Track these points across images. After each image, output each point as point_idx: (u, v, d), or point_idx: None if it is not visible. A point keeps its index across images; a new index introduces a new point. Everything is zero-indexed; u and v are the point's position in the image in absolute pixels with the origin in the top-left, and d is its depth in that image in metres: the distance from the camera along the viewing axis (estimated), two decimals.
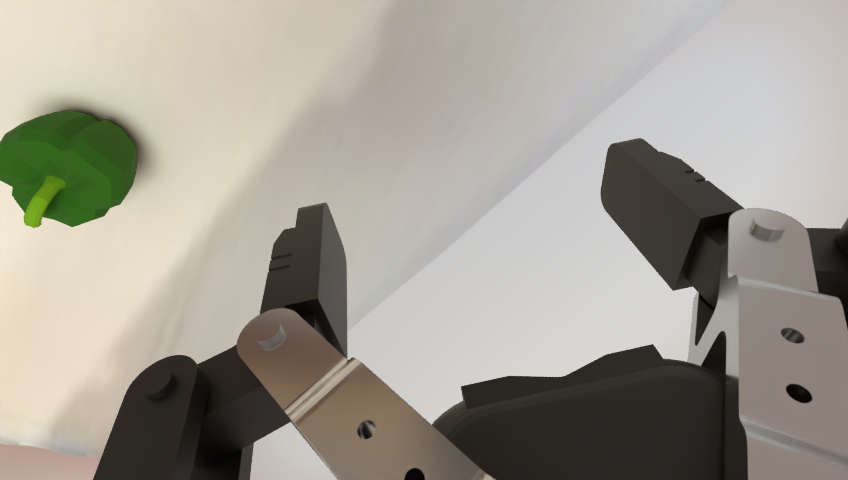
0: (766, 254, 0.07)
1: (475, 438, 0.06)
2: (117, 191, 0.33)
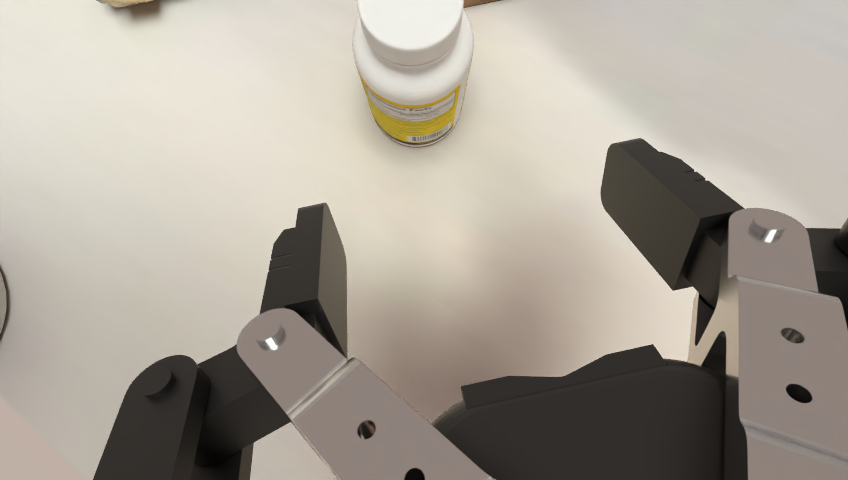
0: (766, 254, 0.07)
1: (475, 438, 0.06)
2: None
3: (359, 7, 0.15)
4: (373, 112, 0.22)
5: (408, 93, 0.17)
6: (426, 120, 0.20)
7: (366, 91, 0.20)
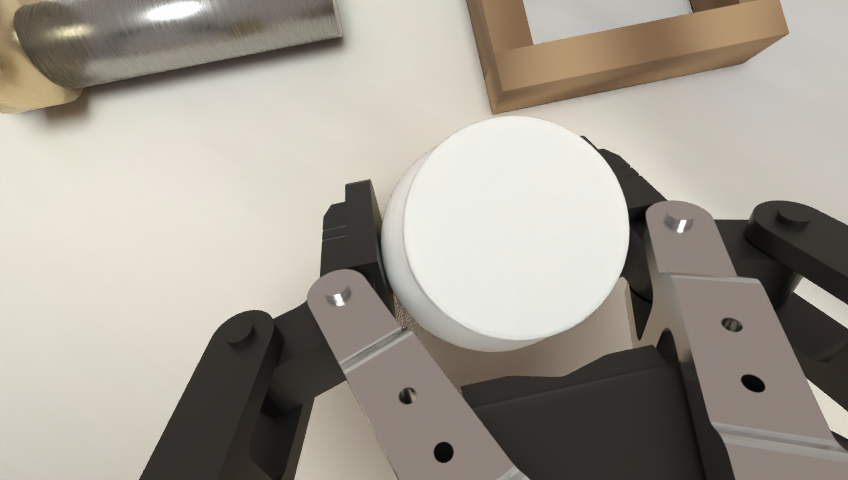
0: (673, 242, 0.08)
1: None
2: None
3: (407, 246, 0.07)
4: None
5: (485, 348, 0.09)
6: None
7: None
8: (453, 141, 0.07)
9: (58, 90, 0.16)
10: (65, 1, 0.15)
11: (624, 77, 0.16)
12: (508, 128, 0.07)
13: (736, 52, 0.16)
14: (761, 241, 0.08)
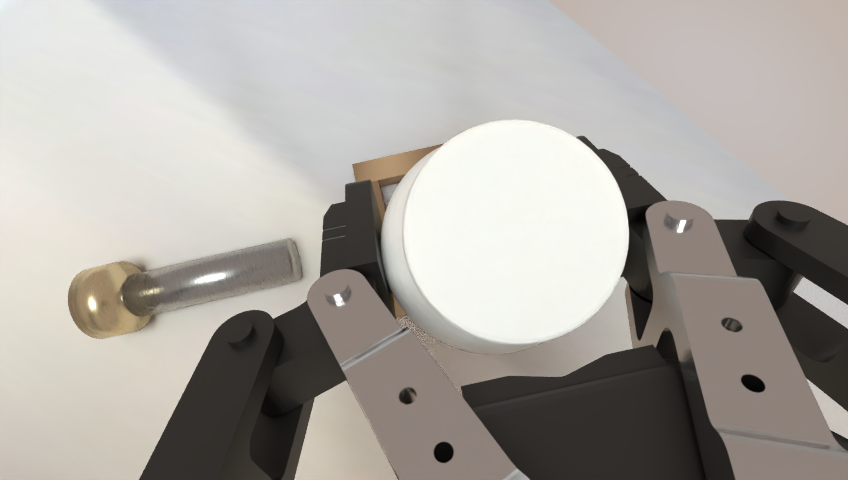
0: (672, 242, 0.08)
1: None
2: None
3: (407, 249, 0.07)
4: None
5: (485, 350, 0.09)
6: None
7: None
8: (453, 144, 0.07)
9: (142, 319, 0.28)
10: (148, 280, 0.27)
11: None
12: (507, 132, 0.07)
13: None
14: (761, 241, 0.08)
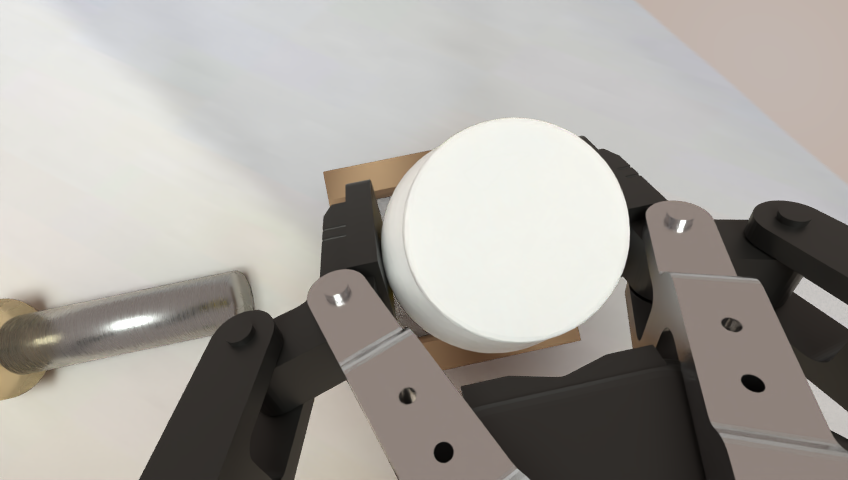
0: (673, 242, 0.08)
1: None
2: None
3: (408, 248, 0.07)
4: None
5: (486, 349, 0.09)
6: None
7: None
8: (453, 143, 0.07)
9: (29, 378, 0.21)
10: (33, 327, 0.19)
11: None
12: (508, 129, 0.07)
13: None
14: (761, 241, 0.08)
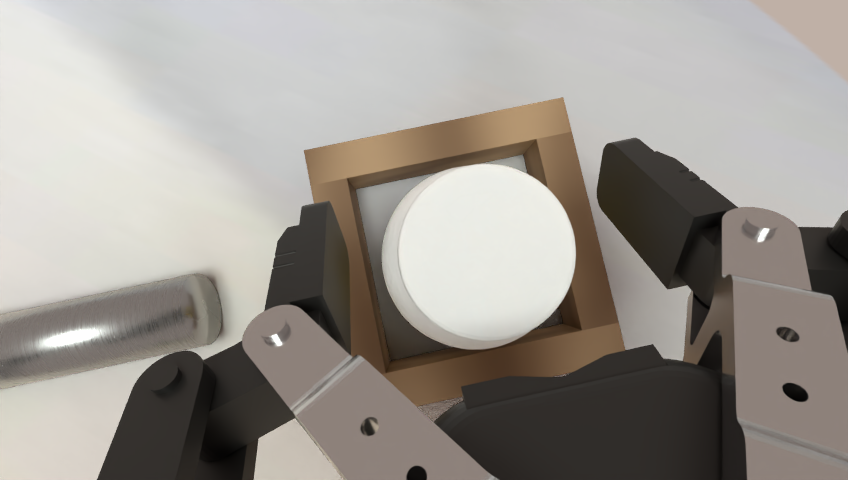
0: (758, 252, 0.07)
1: (475, 438, 0.06)
2: None
3: (401, 267, 0.09)
4: None
5: (467, 346, 0.11)
6: None
7: None
8: (437, 184, 0.09)
9: None
10: None
11: None
12: (481, 173, 0.09)
13: None
14: (844, 246, 0.07)
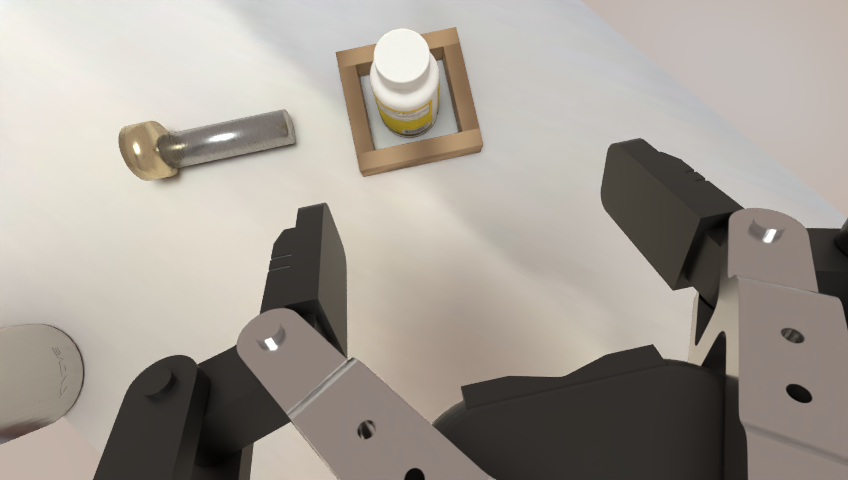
0: (766, 254, 0.07)
1: (475, 438, 0.06)
2: None
3: (374, 59, 0.29)
4: (381, 115, 0.36)
5: (401, 104, 0.31)
6: (413, 120, 0.34)
7: (377, 102, 0.33)
8: (386, 34, 0.29)
9: (171, 170, 0.36)
10: (177, 135, 0.35)
11: (418, 161, 0.37)
12: (400, 31, 0.29)
13: (466, 150, 0.36)
14: None
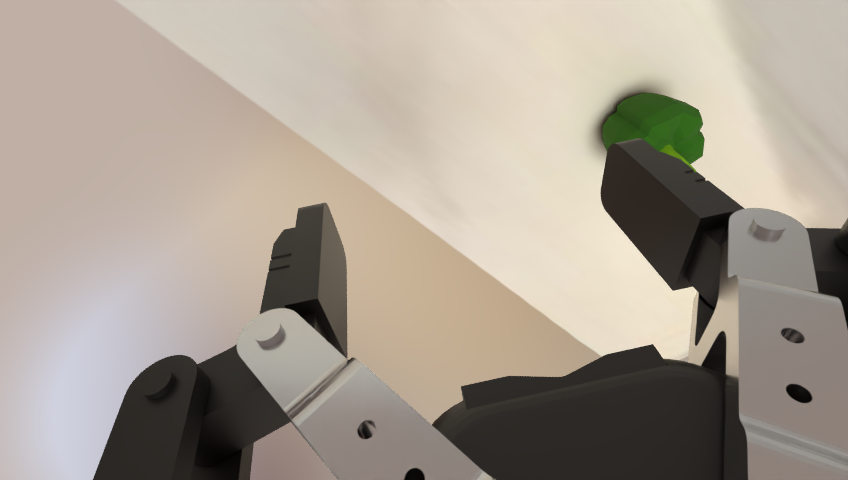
0: (766, 254, 0.07)
1: (475, 438, 0.06)
2: (693, 112, 0.38)
3: None
4: None
5: None
6: None
7: None
8: None
9: None
10: None
11: None
12: None
13: None
14: None
